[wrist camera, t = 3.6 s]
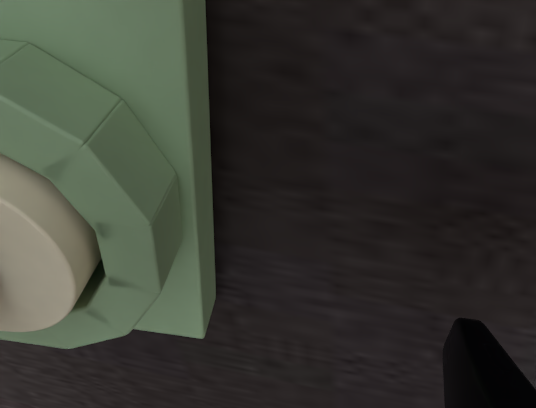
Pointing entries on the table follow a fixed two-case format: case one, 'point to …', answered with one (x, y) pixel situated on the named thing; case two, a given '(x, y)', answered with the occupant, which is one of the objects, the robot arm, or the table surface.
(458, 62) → the table surface
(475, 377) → the robot arm
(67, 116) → the control block
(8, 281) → the button
